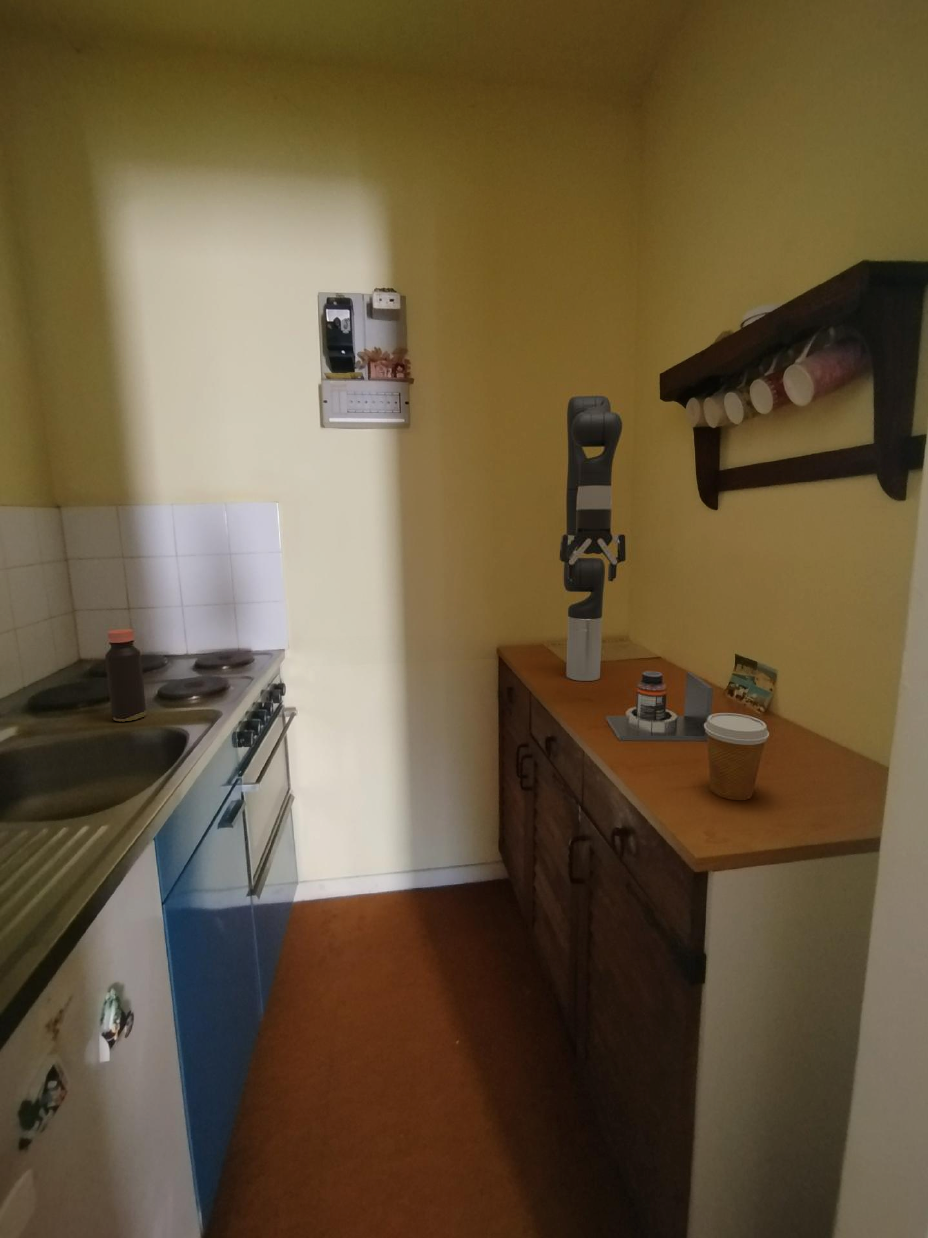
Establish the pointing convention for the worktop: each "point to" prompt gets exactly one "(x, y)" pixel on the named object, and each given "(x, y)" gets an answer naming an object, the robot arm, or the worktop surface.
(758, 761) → the disposable coffee cup
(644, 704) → the supplement bottle
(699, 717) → the cup bracket
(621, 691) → the worktop surface
